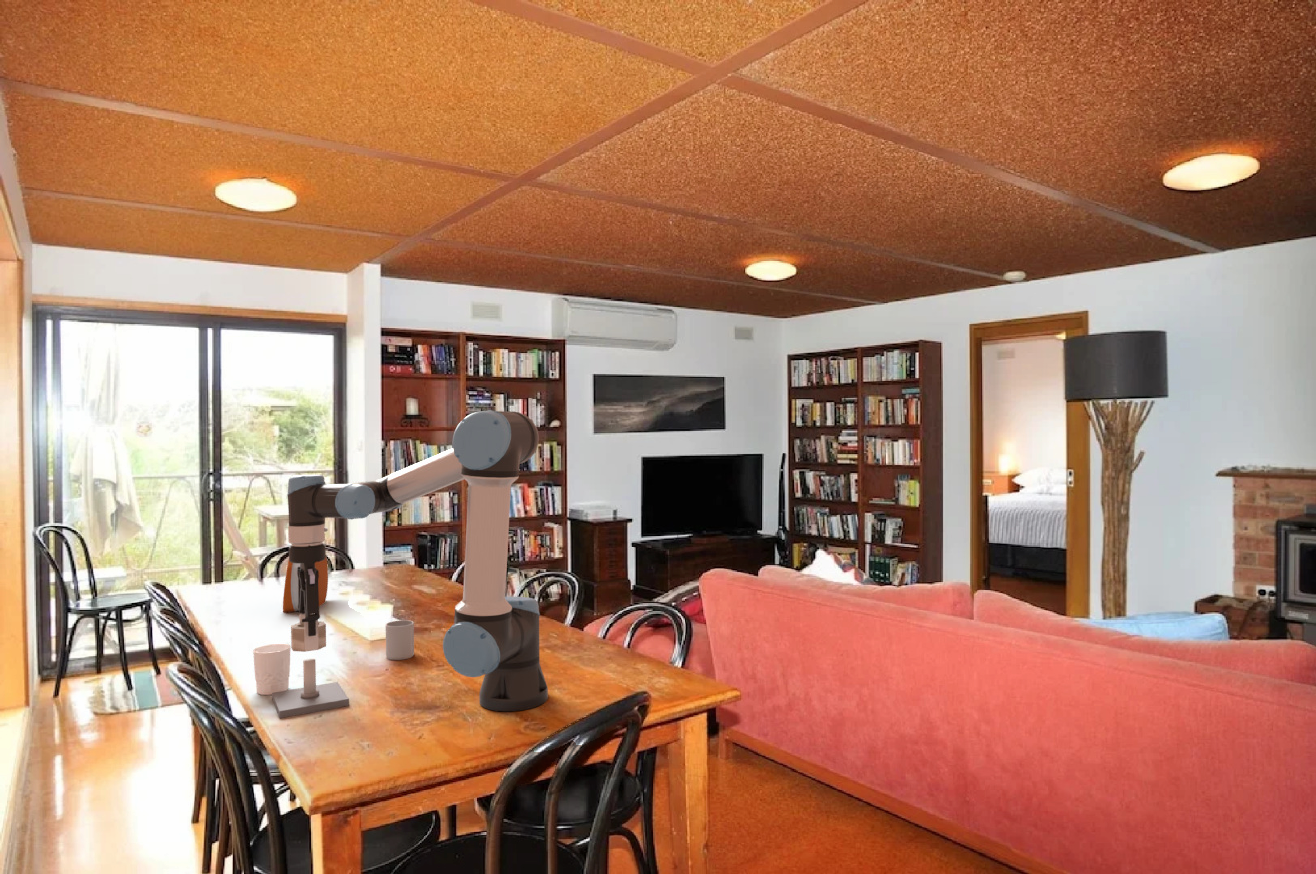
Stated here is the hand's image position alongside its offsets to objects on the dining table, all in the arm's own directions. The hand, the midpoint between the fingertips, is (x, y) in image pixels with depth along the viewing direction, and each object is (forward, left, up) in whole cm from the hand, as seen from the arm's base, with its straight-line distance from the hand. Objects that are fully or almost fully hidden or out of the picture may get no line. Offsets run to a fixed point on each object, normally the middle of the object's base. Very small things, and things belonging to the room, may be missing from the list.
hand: (309, 645), depth 179 cm
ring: (0, 0, 0) cm, 0 cm away
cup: (+27, -26, -13) cm, 40 cm away
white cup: (+14, +6, -13) cm, 20 cm away
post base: (0, 0, -13) cm, 13 cm away
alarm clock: (+106, -13, -13) cm, 108 cm away
